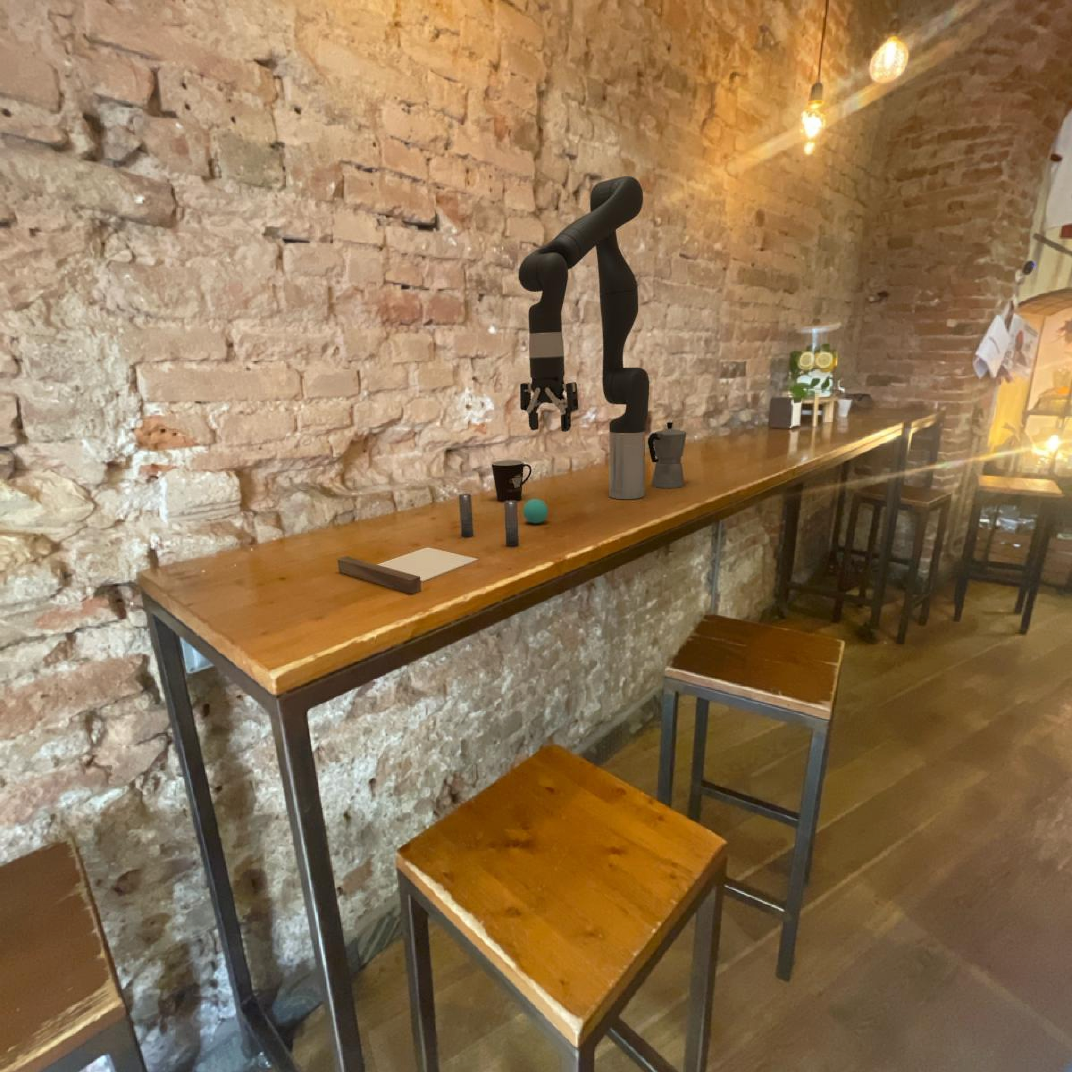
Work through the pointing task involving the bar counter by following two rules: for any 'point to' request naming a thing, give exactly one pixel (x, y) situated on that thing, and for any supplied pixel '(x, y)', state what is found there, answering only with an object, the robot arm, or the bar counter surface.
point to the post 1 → (466, 515)
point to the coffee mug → (509, 479)
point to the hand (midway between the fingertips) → (549, 430)
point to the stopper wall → (380, 575)
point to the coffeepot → (667, 457)
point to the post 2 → (511, 523)
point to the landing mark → (428, 563)
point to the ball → (535, 511)
